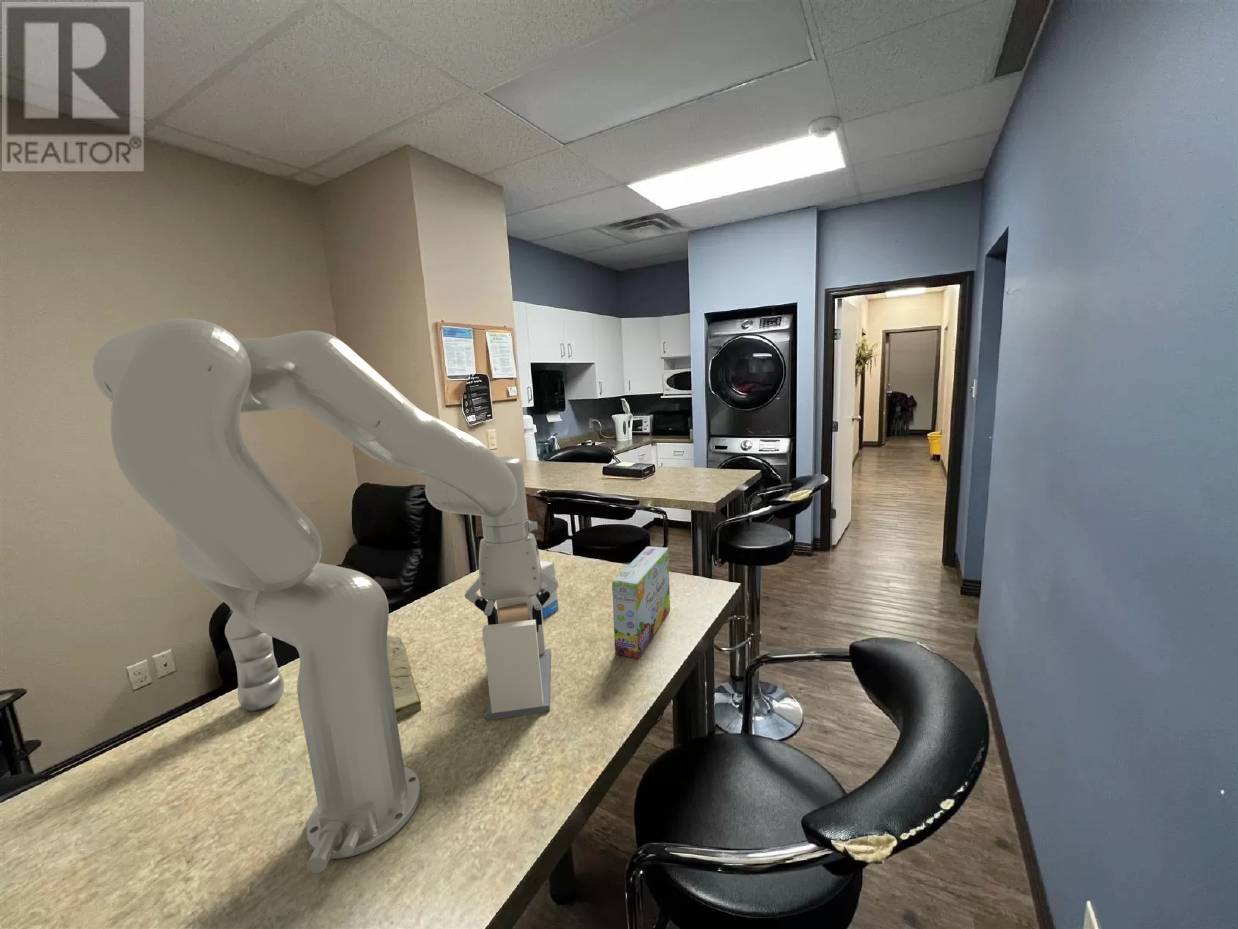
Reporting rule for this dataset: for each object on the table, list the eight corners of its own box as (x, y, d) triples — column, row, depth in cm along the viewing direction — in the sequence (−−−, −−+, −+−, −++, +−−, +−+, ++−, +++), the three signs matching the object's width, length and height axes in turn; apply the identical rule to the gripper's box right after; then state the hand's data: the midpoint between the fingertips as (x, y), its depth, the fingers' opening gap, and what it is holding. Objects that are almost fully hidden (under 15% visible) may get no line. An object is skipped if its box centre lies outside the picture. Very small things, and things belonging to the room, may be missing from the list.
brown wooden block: (501, 628, 88) (498, 608, 88) (528, 623, 89) (526, 603, 89) (504, 662, 77) (501, 639, 76) (535, 656, 78) (533, 633, 77)
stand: (549, 711, 77) (541, 623, 74) (486, 720, 75) (475, 631, 73) (551, 653, 93) (544, 580, 91) (498, 660, 92) (490, 586, 90)
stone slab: (397, 624, 104) (424, 687, 79) (399, 642, 104) (427, 710, 79) (331, 642, 97) (338, 717, 72) (334, 661, 98) (342, 743, 73)
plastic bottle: (282, 687, 88) (262, 584, 85) (290, 703, 83) (269, 594, 80) (238, 705, 83) (215, 596, 80) (243, 722, 79) (220, 608, 75)
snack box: (641, 660, 89) (637, 583, 87) (614, 655, 91) (608, 581, 89) (672, 609, 109) (669, 546, 106) (648, 606, 111) (645, 544, 108)
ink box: (559, 609, 112) (555, 561, 110) (545, 619, 108) (540, 569, 106) (532, 603, 117) (527, 556, 115) (517, 611, 112) (513, 563, 111)
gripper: (558, 520, 85) (566, 615, 88) (457, 529, 83) (469, 626, 85) (558, 532, 77) (566, 635, 80) (447, 543, 75) (460, 648, 78)
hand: (516, 630), depth 83 cm, fingers open, 6 cm apart
